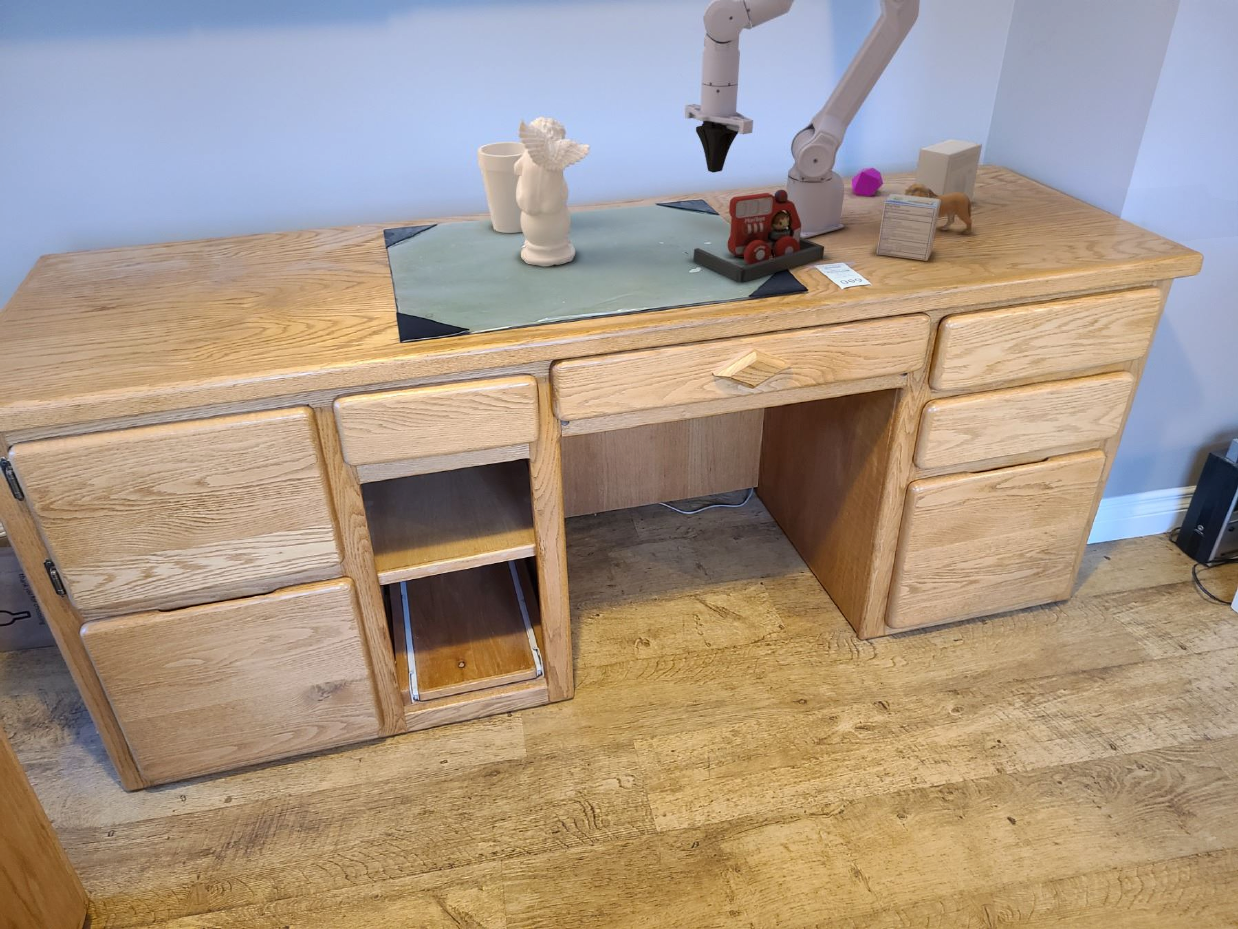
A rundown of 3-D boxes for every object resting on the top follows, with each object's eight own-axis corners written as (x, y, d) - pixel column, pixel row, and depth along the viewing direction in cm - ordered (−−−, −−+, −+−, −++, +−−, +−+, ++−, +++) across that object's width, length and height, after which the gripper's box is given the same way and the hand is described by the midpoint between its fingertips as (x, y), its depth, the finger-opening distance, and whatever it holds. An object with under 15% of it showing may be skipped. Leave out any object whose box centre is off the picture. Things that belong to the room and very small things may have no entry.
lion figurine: (909, 245, 145) (919, 189, 140) (888, 235, 149) (897, 180, 144) (980, 233, 150) (992, 178, 145) (958, 223, 154) (970, 170, 149)
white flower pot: (550, 223, 155) (546, 146, 147) (517, 239, 148) (511, 159, 141) (506, 214, 159) (501, 139, 152) (473, 229, 152) (465, 151, 145)
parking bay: (774, 239, 148) (775, 227, 146) (823, 258, 140) (824, 246, 139) (693, 261, 139) (693, 248, 138) (740, 283, 132) (741, 270, 131)
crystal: (883, 196, 167) (886, 171, 164) (854, 197, 166) (858, 172, 164) (874, 188, 171) (878, 163, 169) (846, 189, 171) (850, 164, 168)
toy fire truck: (809, 260, 139) (816, 193, 134) (738, 272, 135) (743, 203, 130) (785, 246, 145) (792, 181, 139) (717, 257, 141) (721, 190, 135)
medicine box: (931, 253, 142) (942, 198, 137) (927, 262, 138) (937, 206, 134) (881, 246, 145) (890, 192, 140) (875, 255, 141) (884, 200, 136)
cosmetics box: (940, 195, 167) (951, 137, 161) (971, 202, 163) (984, 143, 157) (908, 206, 161) (918, 147, 156) (940, 215, 157) (952, 154, 152)
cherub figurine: (542, 241, 147) (534, 100, 135) (609, 253, 142) (607, 107, 130) (502, 266, 138) (490, 117, 126) (573, 279, 133) (567, 125, 121)
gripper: (671, 78, 143) (669, 164, 151) (730, 93, 134) (725, 185, 141) (705, 73, 147) (701, 158, 154) (765, 87, 137) (758, 177, 144)
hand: (715, 170), depth 148 cm, fingers closed
